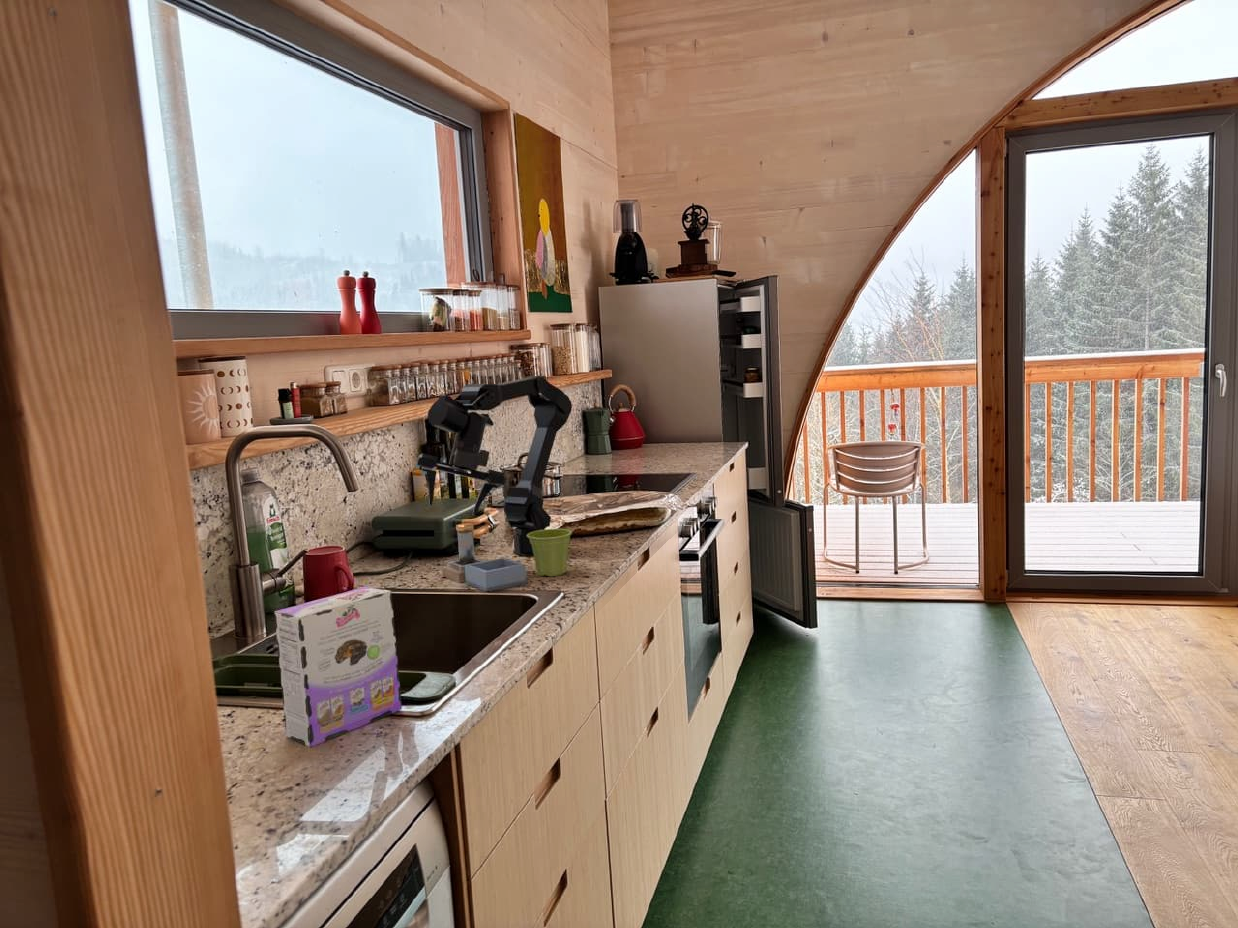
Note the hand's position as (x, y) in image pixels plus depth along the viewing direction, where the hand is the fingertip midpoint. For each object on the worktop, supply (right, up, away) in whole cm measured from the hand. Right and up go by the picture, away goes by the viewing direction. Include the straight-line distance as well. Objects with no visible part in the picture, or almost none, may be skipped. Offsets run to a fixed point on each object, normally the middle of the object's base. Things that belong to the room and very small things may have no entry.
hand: (452, 510), depth 194 cm
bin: (+10, -14, -7) cm, 19 cm away
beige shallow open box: (+3, -14, +1) cm, 14 cm away
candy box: (0, -24, -76) cm, 79 cm away
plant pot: (+21, -13, 0) cm, 25 cm away
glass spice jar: (+3, -12, +1) cm, 12 cm away
